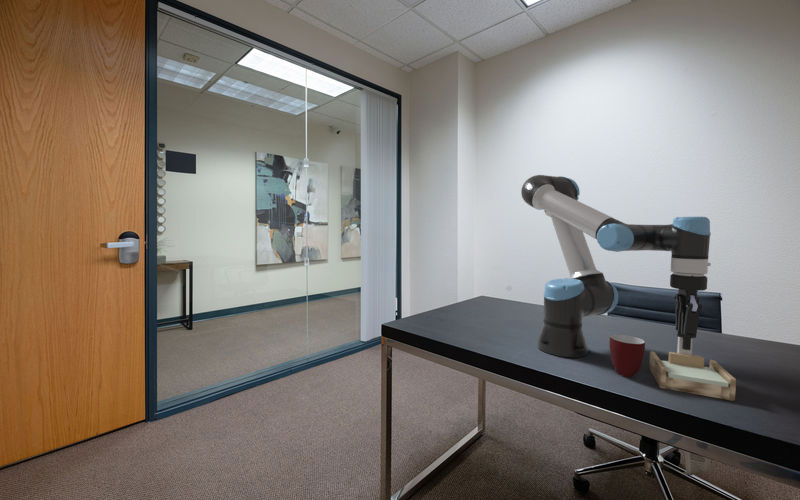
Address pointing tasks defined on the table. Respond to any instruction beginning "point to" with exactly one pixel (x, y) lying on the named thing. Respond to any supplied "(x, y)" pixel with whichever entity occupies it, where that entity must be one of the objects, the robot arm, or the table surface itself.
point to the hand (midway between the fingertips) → (684, 360)
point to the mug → (626, 354)
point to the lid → (692, 369)
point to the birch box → (691, 386)
